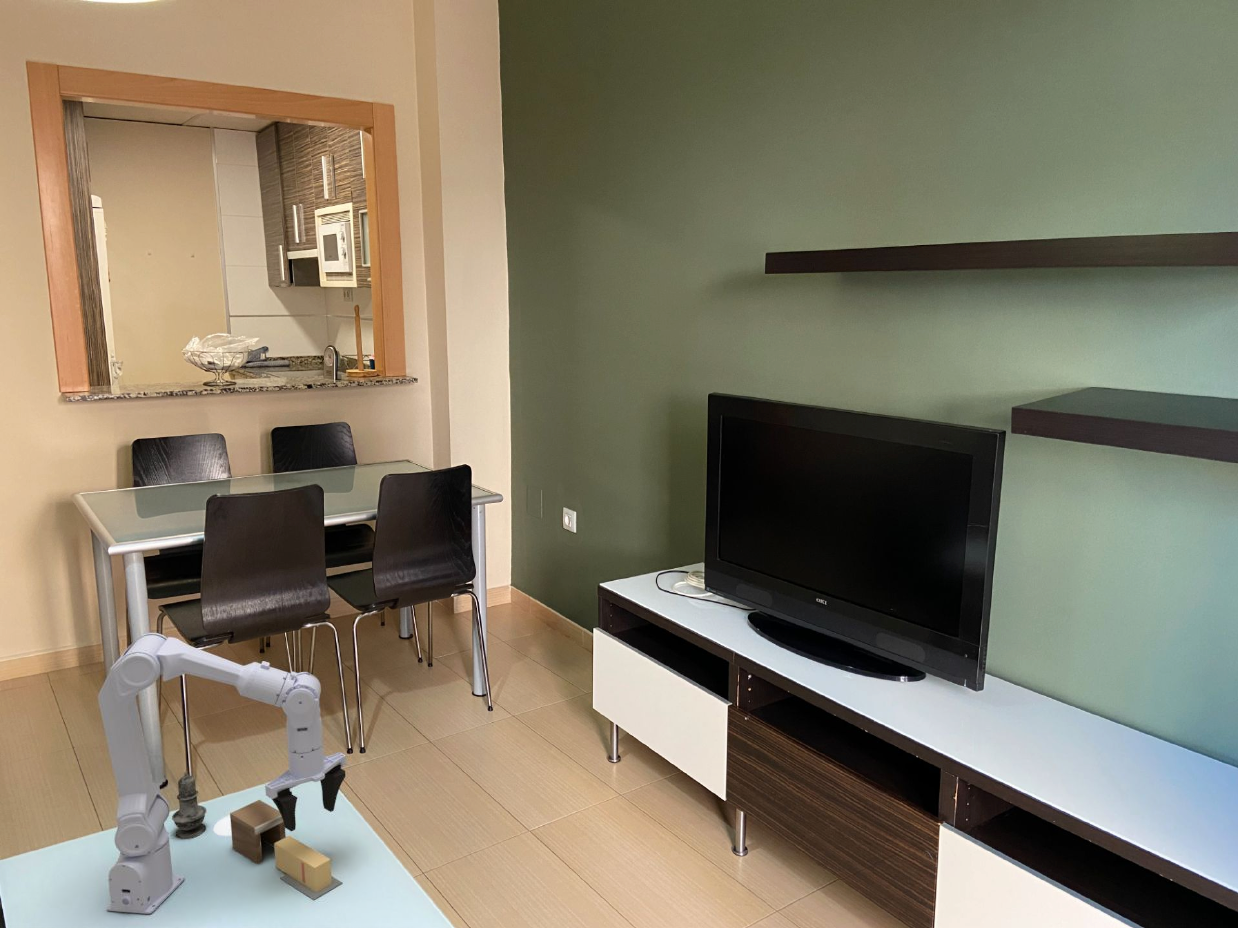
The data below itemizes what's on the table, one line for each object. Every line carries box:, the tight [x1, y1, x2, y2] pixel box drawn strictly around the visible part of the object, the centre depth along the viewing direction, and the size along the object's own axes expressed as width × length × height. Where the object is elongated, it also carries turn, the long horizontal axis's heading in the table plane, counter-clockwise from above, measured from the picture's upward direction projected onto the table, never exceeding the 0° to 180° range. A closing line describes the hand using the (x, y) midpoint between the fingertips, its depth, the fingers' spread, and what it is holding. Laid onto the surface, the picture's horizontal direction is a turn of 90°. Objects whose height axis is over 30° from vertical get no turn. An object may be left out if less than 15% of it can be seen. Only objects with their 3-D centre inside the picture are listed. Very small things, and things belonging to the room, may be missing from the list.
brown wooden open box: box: [229, 799, 287, 865], centre depth 163 cm, size 6×8×7 cm
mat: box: [280, 873, 343, 901], centre depth 154 cm, size 6×10×1 cm, turn 53°
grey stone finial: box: [171, 771, 207, 840], centre depth 168 cm, size 6×6×12 cm
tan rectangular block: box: [273, 835, 332, 892], centre depth 155 cm, size 3×12×4 cm, turn 53°
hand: (309, 818), depth 156 cm, fingers open, 7 cm apart
